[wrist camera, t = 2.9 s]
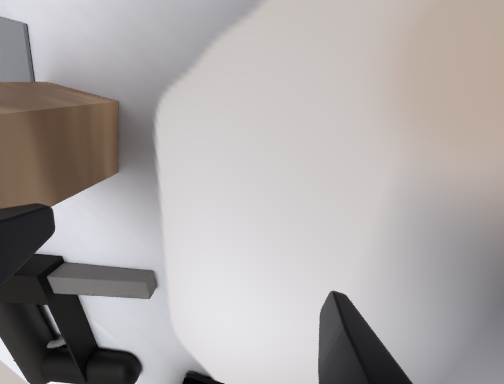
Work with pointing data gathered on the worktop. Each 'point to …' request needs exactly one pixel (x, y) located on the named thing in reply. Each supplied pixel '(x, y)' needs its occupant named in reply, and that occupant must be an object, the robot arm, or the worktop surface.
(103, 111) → the walnut block
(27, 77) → the mat
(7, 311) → the door handle
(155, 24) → the worktop surface
